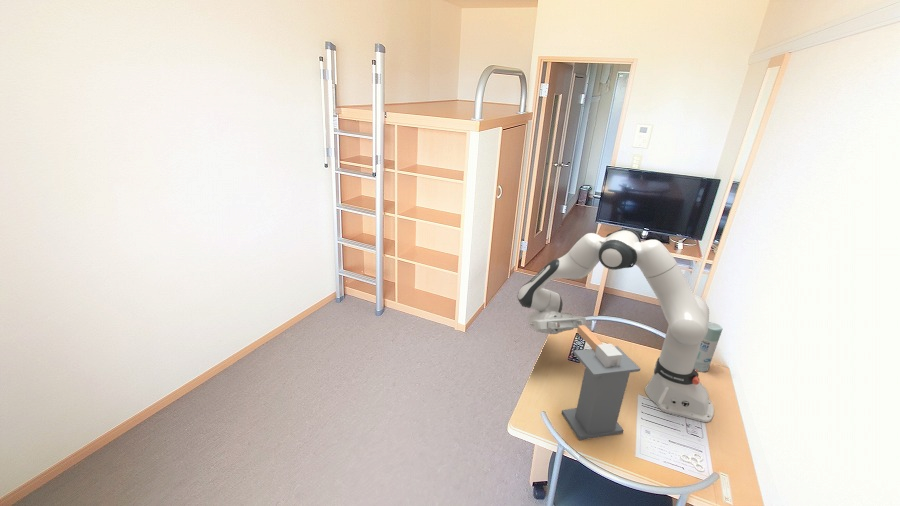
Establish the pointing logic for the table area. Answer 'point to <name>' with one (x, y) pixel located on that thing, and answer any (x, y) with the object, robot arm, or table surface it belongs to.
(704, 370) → the spray paint can
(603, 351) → the bar
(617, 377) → the stand
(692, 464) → the fidget spinner
